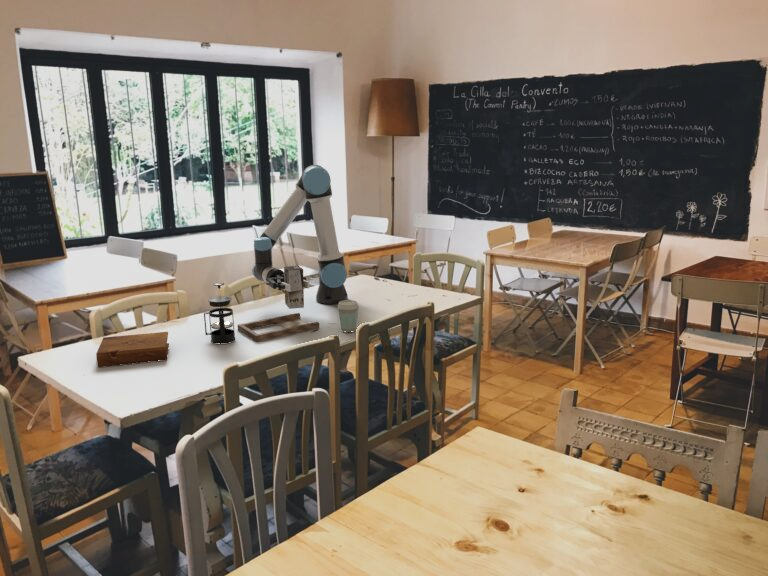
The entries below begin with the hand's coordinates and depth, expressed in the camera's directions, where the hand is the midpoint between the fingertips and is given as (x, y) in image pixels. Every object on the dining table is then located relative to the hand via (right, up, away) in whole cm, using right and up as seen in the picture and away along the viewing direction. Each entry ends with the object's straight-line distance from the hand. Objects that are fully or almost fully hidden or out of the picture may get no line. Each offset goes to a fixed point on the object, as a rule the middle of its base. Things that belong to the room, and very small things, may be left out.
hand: (299, 286), depth 257 cm
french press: (-29, -21, -9) cm, 37 cm away
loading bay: (-9, -18, +4) cm, 20 cm away
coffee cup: (+20, -18, +1) cm, 27 cm away
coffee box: (-3, -8, +6) cm, 11 cm away
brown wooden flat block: (-57, -26, -24) cm, 67 cm away
